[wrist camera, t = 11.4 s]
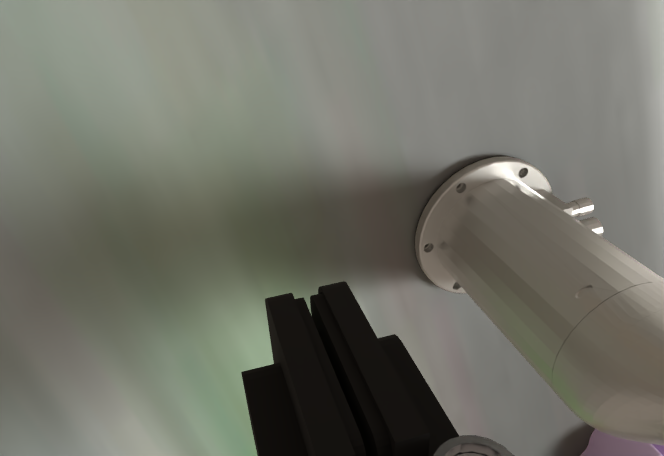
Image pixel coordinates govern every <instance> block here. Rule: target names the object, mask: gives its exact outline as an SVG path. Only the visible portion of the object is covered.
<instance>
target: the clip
mask: <svg viewBox="0 0 664 456" xmlns="http://www.w3.org/2000/svg"><path fill="white" fill-rule="evenodd" d="M580 456H664V446H663V445H656V444H649V443H642V442H636V441H630V440H626V439H621V438H617V437H614V436H611V435H608V434H606V433H603V432H600V431H599V430H597V429H595V430H594V431H593V433H592V435H591V437H590V440H589V444H588V446H587V448H586V449H585V451H584V452H583V453H582V454H581V455H580Z"/></svg>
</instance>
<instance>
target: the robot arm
mask: <svg viewBox="0 0 664 456" xmlns="http://www.w3.org/2000/svg"><path fill="white" fill-rule="evenodd" d="M592 211H593V203H592V201H591V200H590V199H589V198H582V199H578V200H574V201H572V202H570V203H565V202H563V201H561V200H560V199H558V198H557V197H555V196H554V195H553V193H552V188H551V186H550V184H549V182H548V180H547V178H546V177H545V176H544V175H543V174H542V172H541V171H540V170H538V169H537V168H535V167H534V166H532V165H531V164H529V163H527V162H525V161H523V160H521V159H518V158H513V157H508V156H505V157H492V158H488V159H483V160H480V161H478V162H475V163H473V164H471V165H468V166H466V167H465V168H463V169H462V170H460V171H458V172H457V173H455V174H454V175H453V176H451V177H450V178H449V179H448V180H447V181H446V182H445V183H443V184H442V185H441V187H440V188H439V189H438V190H437V191H436V192H435V194H434V195H433V196H432V197H431V199H430V200H429V202H428V204H427V205H426V207H425V208H424V210H423V213H422V215H421V218H420V220H419V222H418V226H417V231H416V235H415V251H416V256H417V260H418V262H419V265H420V267H421V269H422V270H423V272H424V273H425V274H426V275H427V277H428V278H429V279H430V280H431V281H432V282H433V283H434V284H435V285H436V286H438V287H440V288H442V289H444V290H446V291H449V292H453V293H465V294H468V295H469V296H470V297H471V298H472V299H473V301H474V302H475V303H476V304H477V305H478V306H479V307H480V308H481V310H482V311H483V312H484V313H485V314H486V315H487V316H488V317H489V319H490V320H491V321H492V322H493V323H494V324H495V325H496V326H497V328H498V329H499V330H500V331H501V332H502V333H503V334H504V335H505V337H506V338H507V339H508V340H509V341H510V342H511V343H512V344H513V346H514V347H515V348H516V349H517V350H518V351H519V352H520V353H521V355H522V356H523V357H524V358H525V359H526V360H527V361H528V362H529V364H530V365H531V366H532V367H533V368H534V369H535V370H536V371H537V373H538V374H539V375H540V376H541V377H542V378H543V379H544V380H545V382H546V383H547V384H548V385H549V386H550V387H551V388H552V389H553V391H554V392H555V393H556V394H557V395H558V396H559V398H560V399H561V400H562V401H563V402H564V403H565V404H566V405H567V406H568V408H569V409H570V410H571V411H572V412H573V413H574V414H575V415H577V416H578V417H579V418H580V419H581V420H583V421H584V422H585V423H587V424H588V425H590V426H592V427H593V428H595V429H597V430H599V431H600V432H603V433H606V434H608V435H611V436H614V437H617V438H621V439H626V440H630V441H636V442H642V443H649V444H656V445H663V446H664V279H663V278H661V277H660V276H658V275H657V274H656V273H654V272H653V271H651V270H650V269H648V268H647V267H645V266H644V265H642V264H641V263H639V262H638V261H636V260H635V259H634V258H632V257H631V256H629V255H628V254H626V253H625V252H623V251H622V250H620V249H619V248H617V247H616V246H614V245H613V244H612V243H610V242H609V241H607V240H606V239H604V238H603V237H602V234H603V227H602V225H601V222H600V221H599V220H598V219H597V218H594V217H591V218H587V219H584V220H580V221H578V220H576V219H575V218H573V217H579V216H583V215H586V214H590V213H592ZM265 303H266V311H267V318H268V325H269V332H270V339H271V346H272V353H273V360H274V364H272V365H268V366H264V367H260V368H256V369H252V370H248V371H244V372H242V378H243V384H244V389H245V394H246V400H247V405H248V410H249V415H250V420H251V425H252V430H253V435H254V440H255V445H256V450H257V455H258V456H514V455H513V454H512V453H511V452H510V451H508V450H507V449H506V448H505V447H504V446H503V445H501V444H499V443H497V442H495V441H493V440H491V439H488V438H484V437H480V436H476V435H462V436H459V435H458V433H457V432H456V430H455V428H454V427H453V425H452V423H451V422H450V420H449V419H448V417H447V415H446V414H445V412H444V410H443V409H442V407H441V405H440V404H439V402H438V401H437V399H436V397H435V396H434V394H433V392H432V391H431V389H430V387H429V386H428V384H427V382H426V381H425V379H424V378H423V376H422V374H421V373H420V371H419V369H418V368H417V366H416V364H415V363H414V361H413V360H412V358H411V356H410V355H409V353H408V351H407V350H406V348H405V346H404V345H403V343H402V342H401V340H400V339H399V338H398V336H396V335H395V334H394V335H390V336H386V337H382V338H377V337H376V335H375V333H374V331H373V329H372V328H371V326H370V324H369V322H368V320H367V319H366V317H365V315H364V313H363V311H362V310H361V308H360V306H359V304H358V302H357V301H356V299H355V297H354V295H353V293H352V292H351V290H350V288H349V286H348V285H347V283H346V282H339V283H334V284H330V285H325V286H321V287H319V289H318V294H317V295H312V296H311V297H310V303H311V314H312V316H311V314H310V312H309V309H308V307H307V304H306V302H305V300H304V298H299V299H294V296H293V294H292V293H289V294H284V295H279V296H275V297H270V298H266V299H265Z"/></svg>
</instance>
